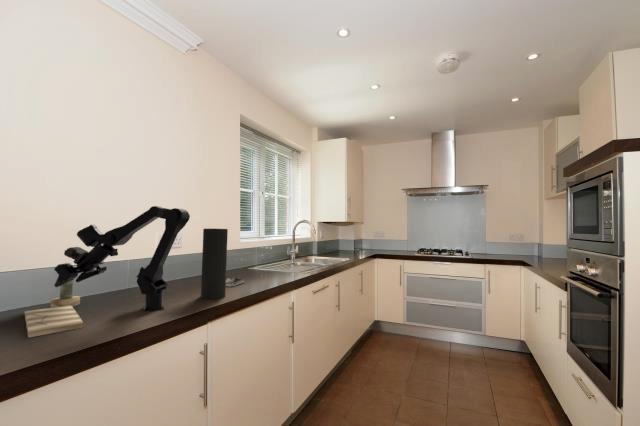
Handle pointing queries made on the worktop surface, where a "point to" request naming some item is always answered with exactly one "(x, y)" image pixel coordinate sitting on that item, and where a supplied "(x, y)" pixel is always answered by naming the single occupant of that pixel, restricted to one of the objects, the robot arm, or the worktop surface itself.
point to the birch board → (52, 320)
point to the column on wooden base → (66, 296)
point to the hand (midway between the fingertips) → (66, 283)
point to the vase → (214, 263)
